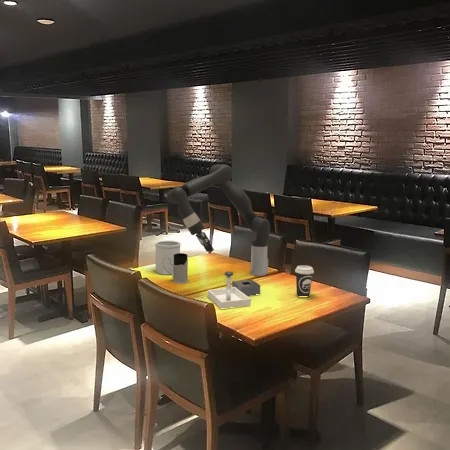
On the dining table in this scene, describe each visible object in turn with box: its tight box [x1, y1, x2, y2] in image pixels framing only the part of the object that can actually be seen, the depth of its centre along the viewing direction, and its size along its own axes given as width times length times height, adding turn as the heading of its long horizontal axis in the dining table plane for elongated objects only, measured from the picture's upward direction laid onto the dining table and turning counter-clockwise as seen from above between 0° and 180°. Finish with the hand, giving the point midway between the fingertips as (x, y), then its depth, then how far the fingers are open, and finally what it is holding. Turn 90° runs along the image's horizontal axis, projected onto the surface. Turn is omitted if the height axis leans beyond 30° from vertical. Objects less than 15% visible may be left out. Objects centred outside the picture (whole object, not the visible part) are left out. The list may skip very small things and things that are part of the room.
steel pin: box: [224, 270, 234, 301], centre depth 245 cm, size 4×4×14 cm
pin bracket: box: [231, 278, 261, 297], centre depth 259 cm, size 11×11×5 cm
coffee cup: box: [294, 264, 315, 297], centre depth 255 cm, size 10×10×15 cm
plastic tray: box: [207, 286, 252, 309], centre depth 246 cm, size 15×19×4 cm
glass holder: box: [163, 252, 189, 285], centre depth 274 cm, size 9×14×15 cm, turn 94°
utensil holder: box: [154, 239, 182, 276], centre depth 292 cm, size 15×15×18 cm
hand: (210, 251), depth 250 cm, fingers open, 8 cm apart
